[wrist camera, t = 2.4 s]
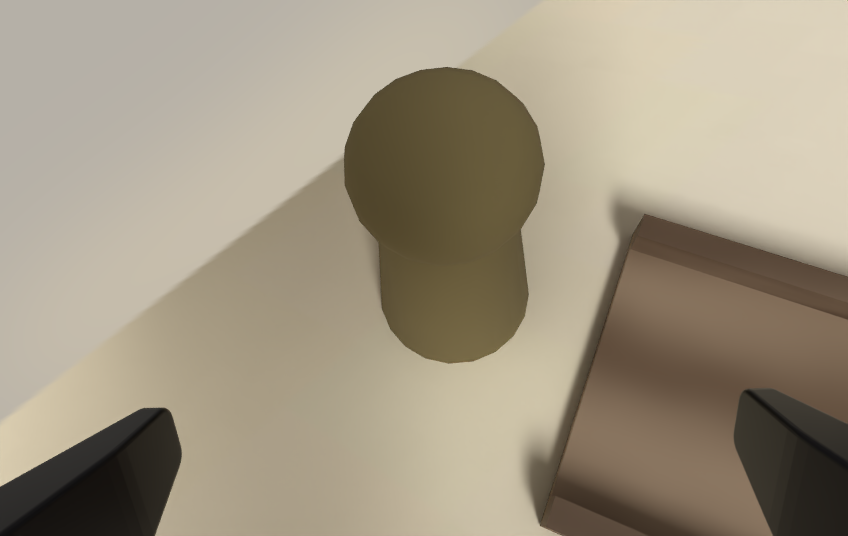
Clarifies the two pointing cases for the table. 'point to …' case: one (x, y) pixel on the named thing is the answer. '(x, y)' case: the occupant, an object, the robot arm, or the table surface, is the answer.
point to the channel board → (693, 384)
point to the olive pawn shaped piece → (447, 207)
